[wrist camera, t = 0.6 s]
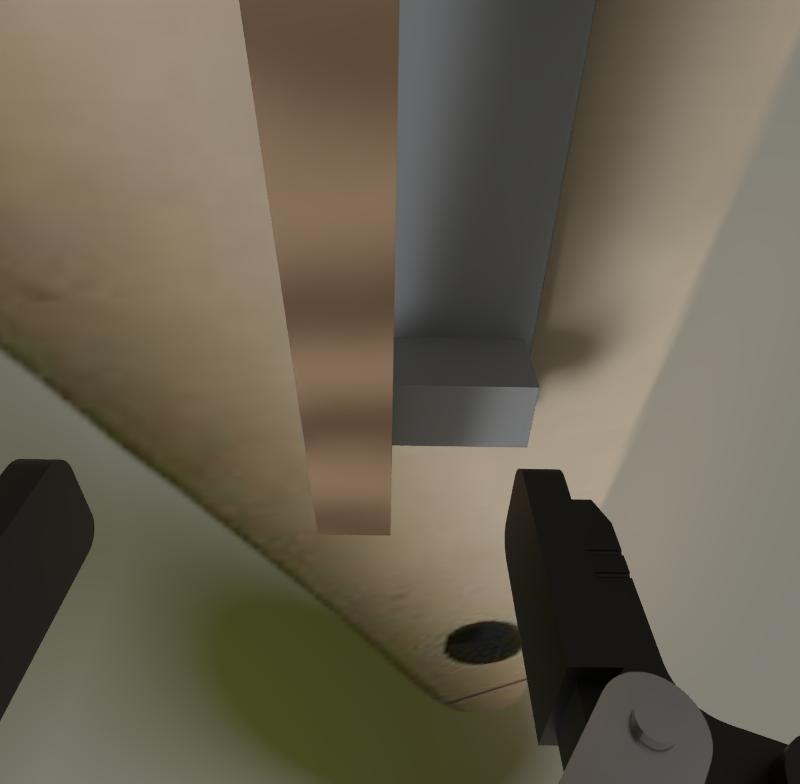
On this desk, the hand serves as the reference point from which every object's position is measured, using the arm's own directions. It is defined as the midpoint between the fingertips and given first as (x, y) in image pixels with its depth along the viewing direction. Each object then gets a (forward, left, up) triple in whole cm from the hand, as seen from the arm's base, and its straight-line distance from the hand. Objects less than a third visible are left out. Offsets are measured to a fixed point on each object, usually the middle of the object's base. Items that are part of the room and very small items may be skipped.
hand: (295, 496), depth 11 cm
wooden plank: (0, 0, -14) cm, 14 cm away
